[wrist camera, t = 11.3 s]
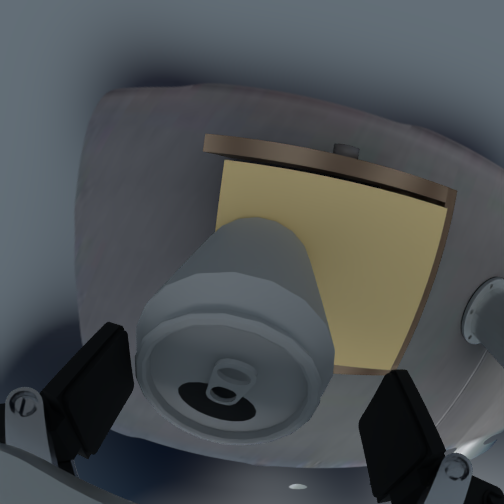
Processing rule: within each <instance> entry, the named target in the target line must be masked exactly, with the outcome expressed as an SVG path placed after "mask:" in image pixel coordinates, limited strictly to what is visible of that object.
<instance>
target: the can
mask: <svg viewBox="0 0 504 504" xmlns="http://www.w3.org/2000/svg"><path fill="white" fill-rule="evenodd" d="M136 341H137V353H136V355H135V371H136V378H137V381H138V383H139V385H140V388H141V390H142V392H143V394H144V396H145V398H146V399H147V400H148V401H149V403H150V404H151V405H152V406H153V407H154V408H155V410H156V411H157V412H158V413H159V414H160V415H161V416H162V417H164V418H165V419H166V420H168V421H169V422H170V423H172V424H173V425H175V426H176V427H177V428H179V429H181V430H183V431H185V432H187V433H189V434H192V435H194V436H196V437H198V438H201V439H205V440H208V441H212V442H217V443H221V444H229V445H254V444H261V443H267V442H272V441H274V440H277V439H280V438H282V437H284V436H287V435H289V434H292V433H293V432H295V431H296V430H297V429H299V428H300V427H301V426H302V425H304V424H305V423H306V422H307V421H309V420H310V418H311V417H312V415H313V413H314V412H315V410H316V408H317V407H318V405H319V403H320V397H321V396H322V394H323V393H324V391H325V389H326V387H327V385H328V383H329V382H330V380H331V378H332V376H333V369H334V358H335V348H334V344H333V340H332V337H331V333H330V329H329V325H328V322H327V318H326V314H325V310H324V307H323V303H322V300H321V296H320V293H319V289H318V286H317V282H316V279H315V275H314V272H313V269H312V265H311V262H310V259H309V257H308V254H307V251H306V249H305V246H304V245H303V243H302V242H301V241H300V240H299V239H298V237H297V236H296V235H295V234H294V233H293V231H291V230H289V229H288V228H286V227H284V226H283V225H281V224H280V223H278V222H276V221H272V220H268V219H264V218H260V217H253V218H240V219H237V220H235V221H232V222H230V223H228V224H225V225H223V226H222V227H220V228H219V229H218V230H217V231H216V232H215V233H214V234H213V235H211V236H210V237H209V238H208V239H207V240H206V241H205V242H204V243H203V244H202V245H201V246H200V247H199V248H198V250H197V251H196V252H195V253H194V254H193V255H192V256H191V257H190V258H189V259H188V260H187V261H186V262H185V263H184V264H183V265H182V266H181V267H180V268H179V269H178V270H177V271H176V273H175V274H174V275H173V276H172V277H171V278H170V279H169V280H168V281H167V282H166V283H165V284H164V285H163V286H162V287H161V289H160V290H159V291H158V292H157V293H156V294H155V295H154V296H153V297H152V298H151V299H150V300H149V302H148V303H147V304H146V305H145V308H144V310H143V312H142V315H141V317H140V320H139V322H138V324H137V327H136Z"/></svg>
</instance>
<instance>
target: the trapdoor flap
mask: <svg viewBox="0 0 504 504" xmlns="http://www.w3.org/2000/svg"><path fill="white" fill-rule="evenodd" d="M446 213H447V208H444V207H441V206H438V205H435V204H432V203H428V202H425V201H422V200H419V199H415V198H412V197H408V196H405V195H401V194H397V193H394V192H390V191H386V190H382V189H379V188H375V187H371V186H367V185H362V184H358V183H354V182H350V181H345V180H341V179H336V178H331V177H327V176H322V175H317V174H312V173H307V172H301V171H296V170H290V169H284V168H278V167H272V166H266V165H259V164H253V163H245V162H238V161H230V160H225V161H224V168H223V175H222V182H221V190H220V197H219V205H218V213H217V221H216V229H215V232H216V231H217V230H218V229H219V228H220V227H222V226H223V225H225V224H228V223H230V222H232V221H235V220H237V219H240V218H253V217H260V218H264V219H268V220H272V221H276V222H278V223H280V224H281V225H283V226H284V227H286V228H288V229H289V230H291V231H293V233H294V234H295V235H296V236H297V237H298V239H299V240H300V241H301V242H302V243H303V245H304V246H305V249H306V251H307V254H308V257H309V259H310V262H311V265H312V269H313V272H314V275H315V279H316V282H317V286H318V289H319V293H320V296H321V300H322V303H323V307H324V310H325V314H326V318H327V322H328V325H329V329H330V333H331V337H332V340H333V344H334V348H335V358H334V365H340V366H349V367H359V368H369V369H381V370H390V369H391V367H392V365H393V363H394V361H395V359H396V357H397V355H398V353H399V351H400V349H401V347H402V345H403V342H404V340H405V338H406V336H407V333H408V331H409V329H410V326H411V324H412V322H413V319H414V317H415V314H416V312H417V309H418V307H419V304H420V301H421V299H422V296H423V293H424V290H425V287H426V285H427V282H428V279H429V276H430V272H431V269H432V266H433V263H434V260H435V256H436V253H437V249H438V246H439V242H440V238H441V234H442V230H443V226H444V222H445V218H446Z"/></svg>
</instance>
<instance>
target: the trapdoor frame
mask: <svg viewBox="0 0 504 504" xmlns="http://www.w3.org/2000/svg"><path fill="white" fill-rule="evenodd" d="M359 150H360V149H359V148H356V147H353V146H349V145H344V144H334V150H333V153H329V152H324V151H319V150H314V149H309V148H304V147H299V146H294V145H288V144H282V143H276V142H270V141H263V140H256V139H249V138H241V137H233V136H224V135H214V134H205V140H204V147H203V151H204V152H208V153H213V154H217V155H221V156H226V157H230V158H236V159H244V160H251V161H258V162H264V163H271V164H277V165H283V166H289V167H294V168H300V169H305V170H310V171H315V172H320V173H325V174H330V175H335V176H339V177H344V178H348V179H353V180H357V181H361V182H365V183H369V184H373V185H377V186H381V189H382V190H386V191H390V192H394V193H397V194H401V195H405V196H408V197H412V198H415V199H419V200H422V201H425V202H428V203H432V204H435V205H438V206H441V207H444V208H447V213H446V218H445V222H444V226H443V230H442V234H441V238H440V242H439V246H438V249H437V253H436V256H435V260H434V263H433V266H432V269H431V272H430V276H429V279H428V282H427V285H426V287H425V290H424V293H423V296H422V299H421V301H420V304H419V307H418V309H417V312H416V314H415V317H414V319H413V322H412V324H411V326H410V329H409V331H408V333H407V336H406V338H405V340H404V342H403V345H402V347H401V349H400V351H399V353H398V355H397V357H396V359H395V361H394V363H393V365H392V367H391V369H390V370H381V369H369V368H359V367H349V366H340V365H334V369H333V374H351V375H386V374H387V373H389V372H390V371H391V370H393V369H395V370H396V369H397V367H398V365H399V363H400V361H401V359H402V357H403V355H404V353H405V351H406V349H407V347H408V345H409V343H410V340H411V338H412V336H413V334H414V331H415V329H416V327H417V324H418V322H419V320H420V317H421V315H422V312H423V310H424V307H425V305H426V302H427V299H428V297H429V294H430V291H431V288H432V286H433V283H434V280H435V277H436V274H437V271H438V267H439V264H440V261H441V258H442V254H443V251H444V247H445V243H446V240H447V236H448V232H449V228H450V224H451V219H452V215H453V210H454V205H455V200H456V195H457V191H456V190H454V189H451V188H449V187H446V186H443V185H440V184H438V183H435V182H432V181H429V180H426V179H423V178H420V177H417V176H414V175H411V174H408V173H405V172H401V171H398V170H395V169H391V168H388V167H384V166H381V165H377V164H374V163H370V162H366V161H362V160H358V156H359Z"/></svg>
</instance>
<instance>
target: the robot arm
mask: <svg viewBox="0 0 504 504" xmlns="http://www.w3.org/2000/svg"><path fill="white" fill-rule="evenodd" d="M462 334H463V337H464V338H465V339H466V340H467V342H469V343H471V344H479V343H481V344H482V345H483V346H484V347H485V348H486V349H487V350H488V351H489V352H490V353H491V354H492V356H493V357H494V358H495V359H496V360H497V361H498V362H499V363H500V365H501V366H502V367H503V368H504V279H503V278H500V277H495V278H492V279H489V280H488V281H486V282H485V283H484V284H483V285H482V286H480V288H479V289H478V290H477V291H476V292H475V294H474V295H473V296H472V298H471V300H470V301H469V303H468V305H467V308H466V310H465V313H464V316H463V320H462ZM133 388H134V381H133V374H132V367H131V360H130V351H129V342H128V334H127V332H126V331H124V328H123V326H121V325H117V324H114V323H111V322H107V323H106V324H105V325H104V326H103V327H102V328H101V329H100V330H99V331H98V332H97V333H96V334H95V335H94V336H93V337H92V338H91V339H90V340H89V341H88V342H87V343H86V344H85V345H84V346H83V347H82V348H81V349H80V350H79V351H78V352H77V353H76V354H75V356H73V357H72V358H71V360H70V361H69V362H68V363H67V364H66V365H65V366H64V367H63V368H62V369H61V370H60V371H59V372H58V373H57V375H56V376H55V377H54V378H53V379H52V380H51V381H50V382H49V383H48V384H47V386H46V387H45V388H44V389H43V390H42V391H41V392H40V393H38V392H37V391H36V390H34V389H32V388H28V387H22V388H18V389H15V390H13V391H12V392H11V393H10V394H9V395H8V397H7V398H6V403H4V404H0V504H137V503H134V502H131V501H129V500H126V499H123V498H121V497H118V496H116V495H114V494H112V493H109V492H107V491H105V490H102V489H100V488H98V487H96V486H94V485H91V484H89V483H87V482H85V481H83V480H81V479H79V477H78V474H77V470H76V467H75V463H74V458H75V457H76V455H77V454H79V455H81V456H83V457H85V458H87V459H89V457H90V455H91V454H93V455H94V454H95V453H96V452H97V451H98V449H99V447H100V446H101V444H102V442H103V440H104V439H105V437H106V435H107V434H108V432H109V430H110V428H111V427H112V425H113V423H114V422H115V420H116V418H117V416H118V415H119V413H120V411H121V410H122V408H123V406H124V405H125V403H126V401H127V400H128V398H129V396H130V395H131V393H132V391H133ZM359 432H360V436H361V440H362V445H363V449H364V454H365V458H366V463H367V468H368V473H369V477H370V483H371V488H372V493H373V495H374V497H377V502H378V503H382V502H387V501H391V503H392V504H504V494H503V492H502V491H501V489H500V488H498V487H497V486H494V485H492V484H490V483H488V482H485V481H483V480H481V479H479V478H477V477H474V476H472V472H473V468H472V464H471V462H470V460H469V459H468V458H467V457H466V456H464V455H462V454H459V453H451V454H448V455H447V456H446V457H445V455H444V452H445V451H446V449H445V447H444V445H443V442H442V440H441V438H440V436H439V433H438V431H437V429H436V427H435V425H434V423H433V420H432V418H431V416H430V414H429V412H428V410H427V408H426V406H425V404H424V402H423V400H422V398H421V396H420V394H419V392H418V390H417V388H416V386H415V384H414V382H413V380H412V378H411V377H410V375H409V373H408V371H407V370H395V369H393V370H391V371H390V372H389V373H387V374H386V375H385V376H384V378H383V380H382V382H381V384H380V386H379V388H378V389H377V391H376V393H375V395H374V397H373V398H372V400H371V402H370V404H369V405H368V407H367V409H366V410H365V412H364V414H363V415H362V417H361V418H360V420H359Z"/></svg>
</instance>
